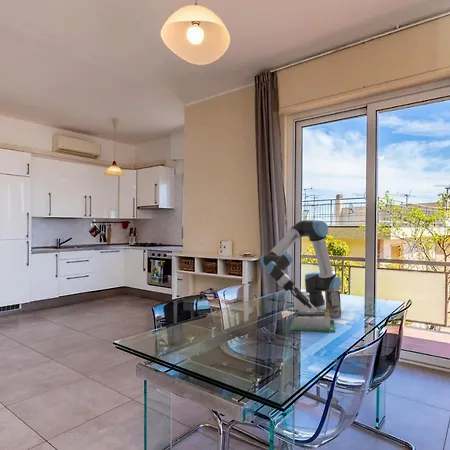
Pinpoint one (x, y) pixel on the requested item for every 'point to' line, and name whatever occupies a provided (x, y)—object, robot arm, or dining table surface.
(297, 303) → the jar
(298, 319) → the heat sink
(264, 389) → the dining table surface
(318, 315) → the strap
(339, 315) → the coffee box
